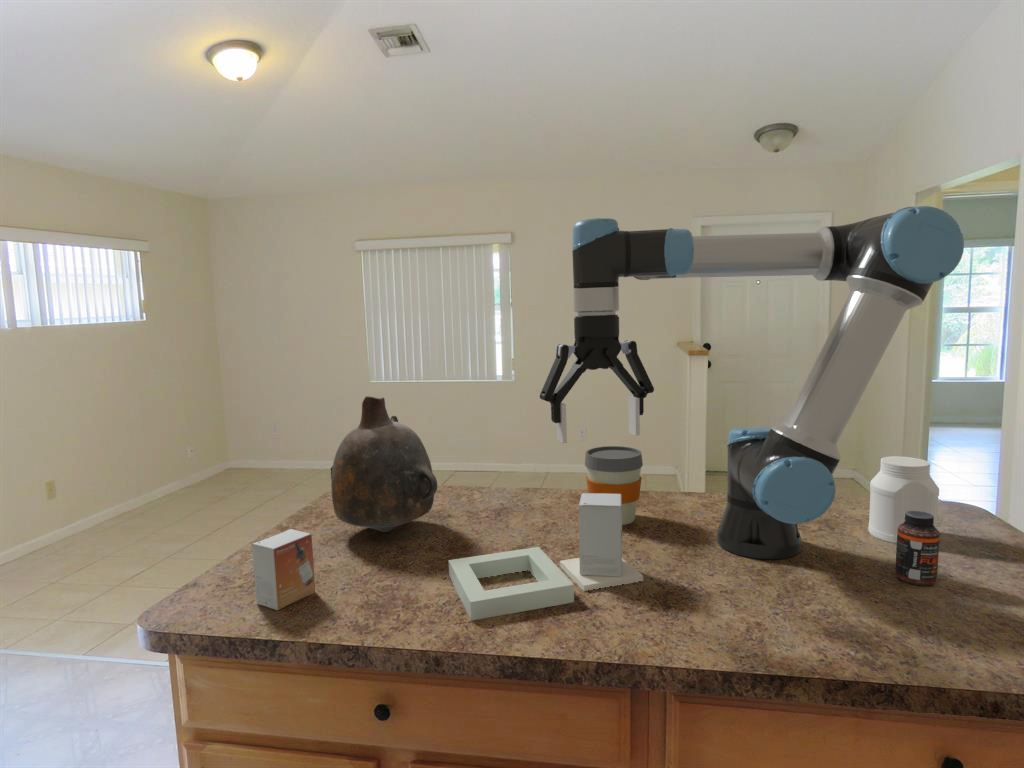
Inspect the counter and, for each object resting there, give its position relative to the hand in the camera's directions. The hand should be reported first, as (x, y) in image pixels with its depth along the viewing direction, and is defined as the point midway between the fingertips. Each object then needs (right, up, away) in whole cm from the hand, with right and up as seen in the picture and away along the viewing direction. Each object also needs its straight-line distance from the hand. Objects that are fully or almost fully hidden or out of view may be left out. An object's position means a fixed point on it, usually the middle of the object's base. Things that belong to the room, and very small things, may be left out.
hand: (598, 437), depth 109 cm
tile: (+1, -24, +3) cm, 25 cm away
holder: (-16, -25, -2) cm, 30 cm away
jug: (-42, -23, +28) cm, 55 cm away
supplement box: (+1, -23, +3) cm, 24 cm away
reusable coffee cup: (+8, -21, +31) cm, 38 cm away
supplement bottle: (+53, -24, -3) cm, 58 cm away
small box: (-53, -27, -3) cm, 59 cm away
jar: (+62, -21, +16) cm, 68 cm away
